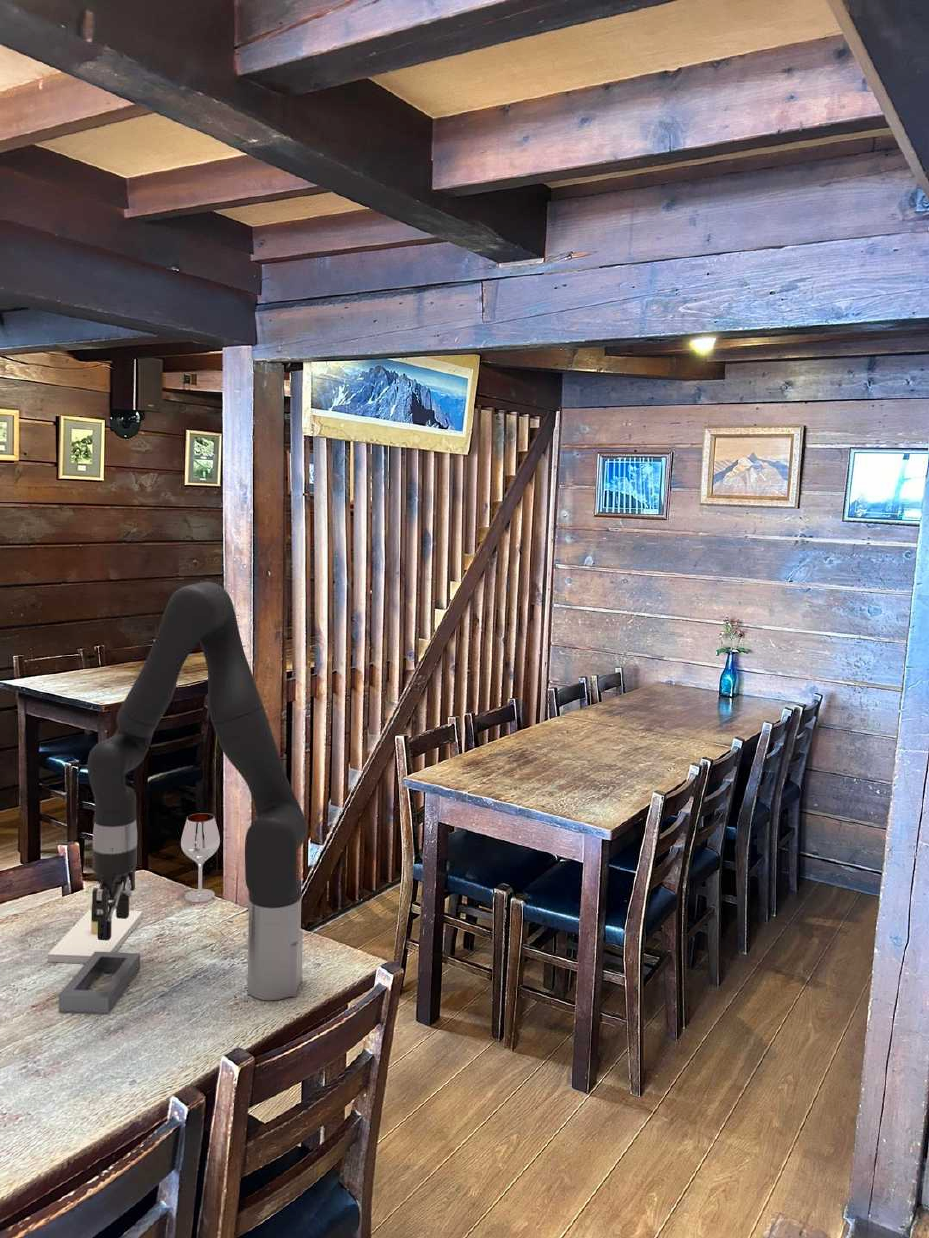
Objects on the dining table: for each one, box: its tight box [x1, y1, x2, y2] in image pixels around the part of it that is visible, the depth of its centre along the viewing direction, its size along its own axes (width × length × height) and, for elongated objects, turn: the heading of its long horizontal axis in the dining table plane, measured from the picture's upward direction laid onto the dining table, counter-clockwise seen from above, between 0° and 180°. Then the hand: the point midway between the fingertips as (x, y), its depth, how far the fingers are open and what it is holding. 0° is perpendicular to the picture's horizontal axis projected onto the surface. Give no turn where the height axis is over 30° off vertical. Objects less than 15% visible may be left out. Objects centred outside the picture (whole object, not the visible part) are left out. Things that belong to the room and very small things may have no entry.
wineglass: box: [180, 812, 221, 903], centre depth 197 cm, size 8×8×18 cm
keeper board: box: [47, 904, 144, 964], centre depth 176 cm, size 11×19×8 cm, turn 0°
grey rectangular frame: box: [58, 951, 141, 1015], centre depth 159 cm, size 15×8×3 cm, turn 0°
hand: (113, 928), depth 164 cm, fingers open, 8 cm apart
